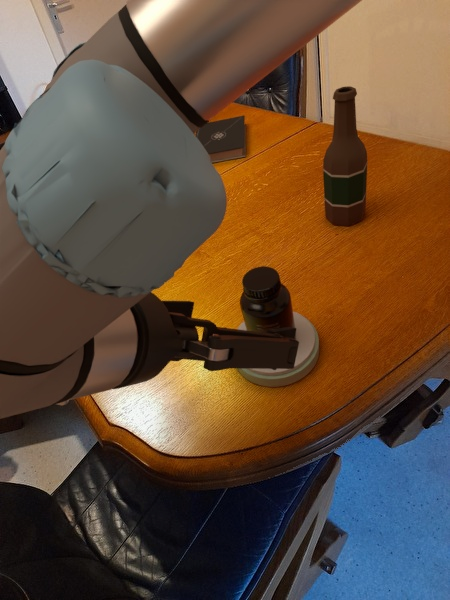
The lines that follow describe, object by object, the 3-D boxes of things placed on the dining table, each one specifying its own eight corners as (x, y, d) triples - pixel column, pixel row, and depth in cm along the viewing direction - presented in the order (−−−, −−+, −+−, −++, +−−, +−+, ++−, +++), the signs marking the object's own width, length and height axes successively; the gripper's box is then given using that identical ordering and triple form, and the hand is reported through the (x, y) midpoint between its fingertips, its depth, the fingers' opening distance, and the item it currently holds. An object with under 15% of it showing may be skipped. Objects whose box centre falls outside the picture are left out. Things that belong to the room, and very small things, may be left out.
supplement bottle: (304, 329, 59) (297, 267, 51) (282, 364, 56) (271, 304, 47) (264, 315, 63) (251, 256, 54) (240, 347, 59) (223, 288, 51)
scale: (325, 322, 63) (325, 310, 61) (311, 394, 55) (309, 382, 53) (246, 314, 68) (243, 302, 66) (222, 379, 59) (217, 368, 57)
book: (199, 134, 126) (196, 124, 124) (246, 125, 124) (244, 115, 122) (192, 167, 111) (189, 156, 109) (245, 157, 108) (244, 146, 106)
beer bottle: (317, 219, 82) (309, 96, 66) (341, 201, 85) (339, 78, 68) (349, 232, 77) (350, 101, 61) (373, 211, 80) (380, 82, 63)
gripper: (-7, 343, 35) (150, 330, 54) (245, 454, 23) (334, 388, 42) (5, 258, 35) (159, 274, 53) (271, 329, 23) (350, 318, 41)
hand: (237, 324), depth 48 cm, fingers open, 13 cm apart
